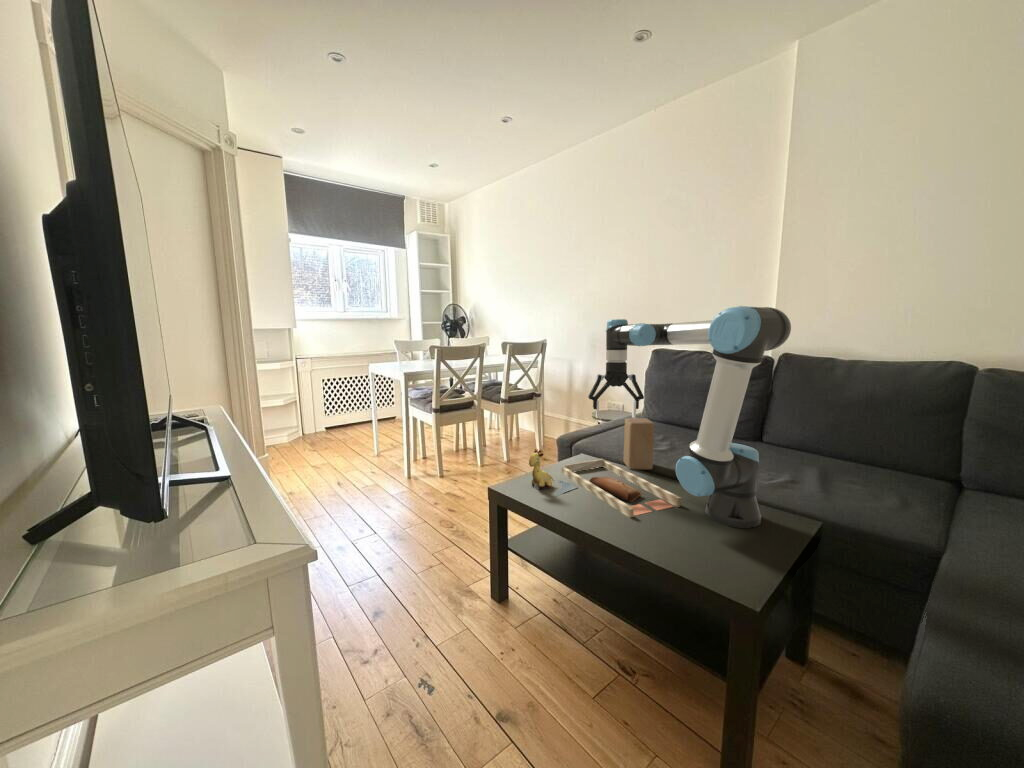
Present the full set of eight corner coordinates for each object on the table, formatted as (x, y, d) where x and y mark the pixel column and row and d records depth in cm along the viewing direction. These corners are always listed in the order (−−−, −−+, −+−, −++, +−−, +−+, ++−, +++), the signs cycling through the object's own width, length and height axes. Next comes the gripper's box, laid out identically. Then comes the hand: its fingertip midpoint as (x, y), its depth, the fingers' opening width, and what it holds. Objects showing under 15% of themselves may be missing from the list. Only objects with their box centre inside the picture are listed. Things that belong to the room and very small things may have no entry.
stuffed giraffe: (511, 490, 147) (511, 448, 145) (546, 478, 159) (546, 439, 156) (542, 504, 135) (542, 458, 133) (577, 490, 146) (578, 448, 144)
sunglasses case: (644, 492, 139) (636, 481, 135) (634, 509, 136) (626, 498, 133) (604, 476, 153) (596, 466, 150) (594, 491, 151) (586, 482, 147)
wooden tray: (680, 506, 132) (681, 494, 131) (629, 518, 124) (629, 506, 123) (604, 467, 169) (605, 458, 169) (561, 474, 161) (561, 465, 160)
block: (653, 470, 165) (655, 423, 163) (628, 470, 166) (630, 423, 163) (645, 462, 175) (647, 417, 173) (622, 462, 176) (624, 417, 173)
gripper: (647, 360, 152) (646, 415, 155) (581, 361, 154) (581, 415, 156) (653, 361, 145) (652, 419, 147) (583, 362, 146) (583, 419, 149)
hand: (615, 417), depth 152 cm, fingers open, 13 cm apart
